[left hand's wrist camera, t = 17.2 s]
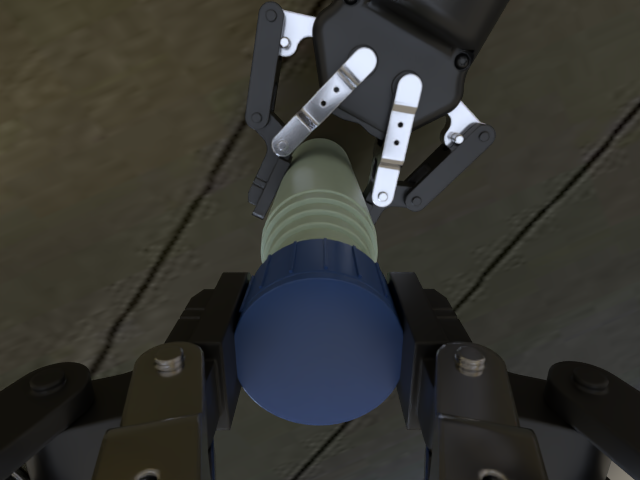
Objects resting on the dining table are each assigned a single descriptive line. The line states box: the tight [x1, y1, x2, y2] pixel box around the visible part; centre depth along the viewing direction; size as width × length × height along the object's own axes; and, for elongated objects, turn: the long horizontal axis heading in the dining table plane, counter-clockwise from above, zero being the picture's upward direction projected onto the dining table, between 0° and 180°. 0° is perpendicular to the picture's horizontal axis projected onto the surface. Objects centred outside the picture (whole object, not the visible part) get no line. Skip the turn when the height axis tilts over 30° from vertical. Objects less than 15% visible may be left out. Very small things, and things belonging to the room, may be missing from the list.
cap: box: [234, 238, 403, 425], centre depth 11 cm, size 4×4×2 cm
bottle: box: [261, 138, 378, 264], centre depth 20 cm, size 4×4×22 cm
